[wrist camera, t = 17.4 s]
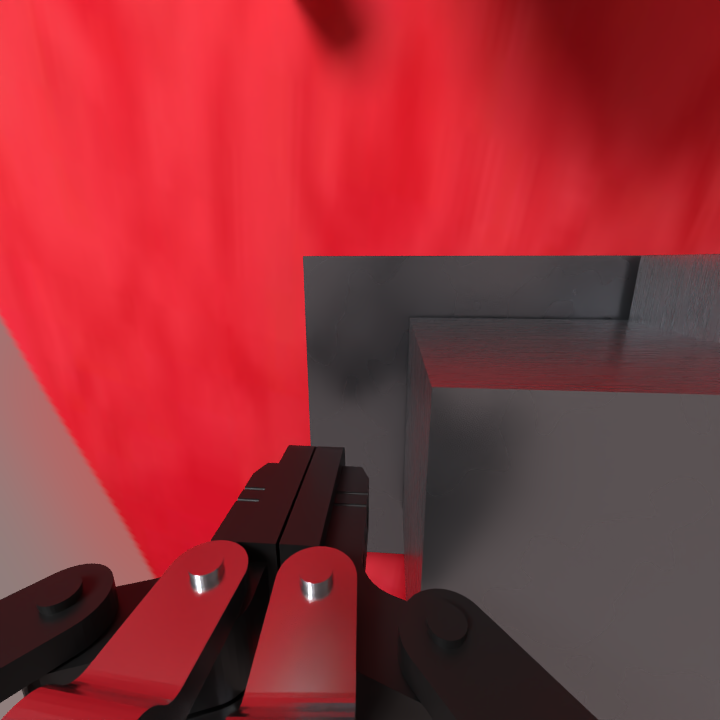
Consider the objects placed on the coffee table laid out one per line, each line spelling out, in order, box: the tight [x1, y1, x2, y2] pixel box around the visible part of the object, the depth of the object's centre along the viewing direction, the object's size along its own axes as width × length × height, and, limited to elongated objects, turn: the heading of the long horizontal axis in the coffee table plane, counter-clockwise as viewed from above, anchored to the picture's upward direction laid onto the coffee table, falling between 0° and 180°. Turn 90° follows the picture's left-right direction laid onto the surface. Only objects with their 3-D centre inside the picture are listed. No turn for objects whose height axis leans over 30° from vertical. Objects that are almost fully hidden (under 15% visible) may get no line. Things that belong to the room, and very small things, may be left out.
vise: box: [303, 256, 641, 554], centre depth 11 cm, size 12×25×8 cm, turn 90°
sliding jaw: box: [403, 254, 720, 720], centre depth 10 cm, size 12×10×7 cm
